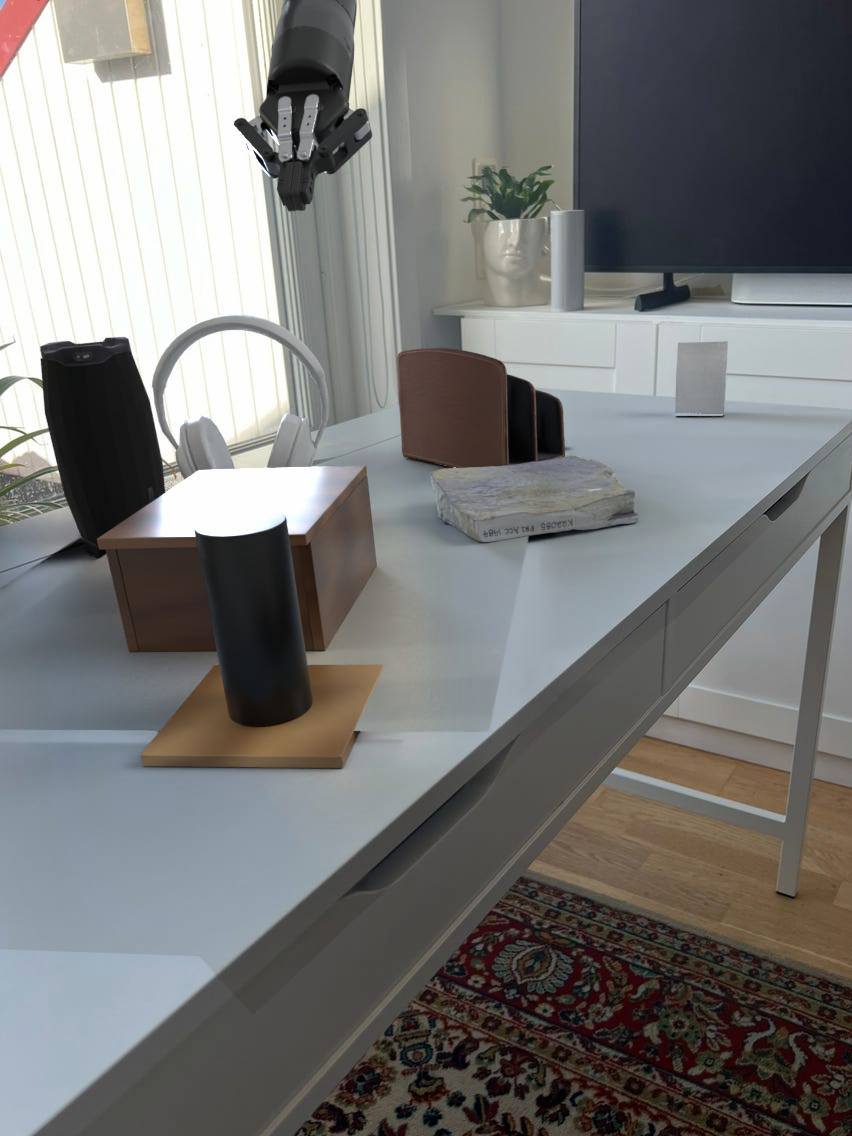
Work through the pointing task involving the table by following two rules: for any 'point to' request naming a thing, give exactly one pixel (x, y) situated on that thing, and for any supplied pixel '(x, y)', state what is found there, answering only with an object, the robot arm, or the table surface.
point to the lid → (238, 504)
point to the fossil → (531, 498)
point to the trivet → (301, 743)
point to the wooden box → (178, 598)
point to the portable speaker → (100, 433)
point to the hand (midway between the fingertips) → (293, 203)
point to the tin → (255, 616)
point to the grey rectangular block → (701, 377)
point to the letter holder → (473, 411)
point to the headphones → (200, 434)
